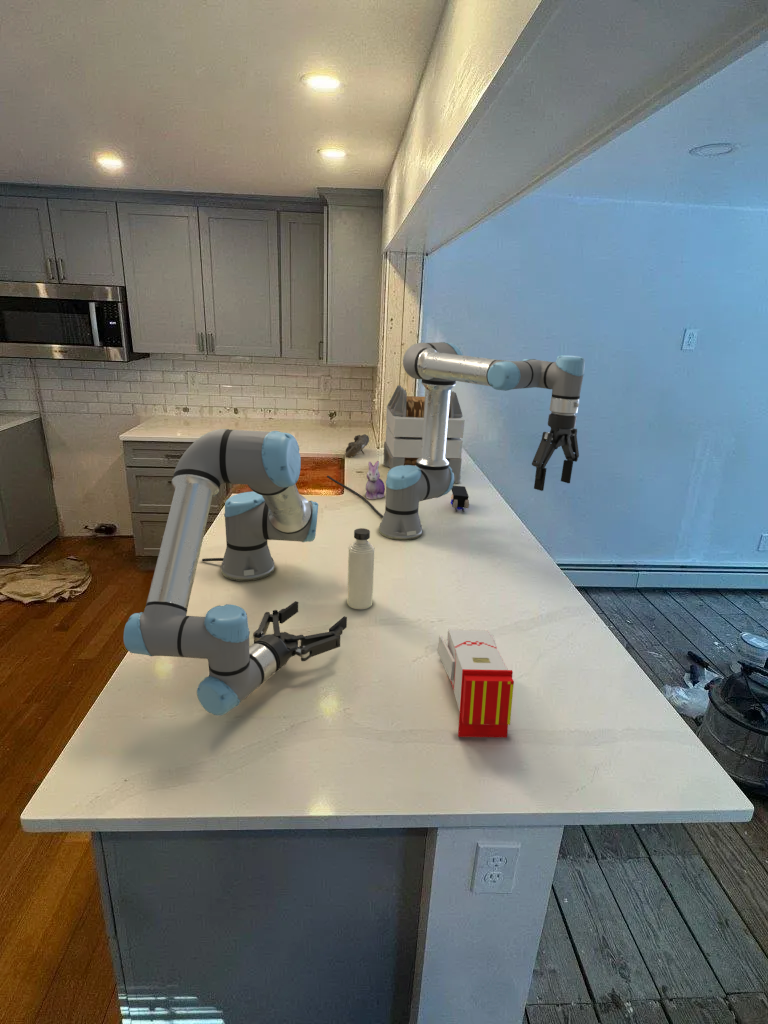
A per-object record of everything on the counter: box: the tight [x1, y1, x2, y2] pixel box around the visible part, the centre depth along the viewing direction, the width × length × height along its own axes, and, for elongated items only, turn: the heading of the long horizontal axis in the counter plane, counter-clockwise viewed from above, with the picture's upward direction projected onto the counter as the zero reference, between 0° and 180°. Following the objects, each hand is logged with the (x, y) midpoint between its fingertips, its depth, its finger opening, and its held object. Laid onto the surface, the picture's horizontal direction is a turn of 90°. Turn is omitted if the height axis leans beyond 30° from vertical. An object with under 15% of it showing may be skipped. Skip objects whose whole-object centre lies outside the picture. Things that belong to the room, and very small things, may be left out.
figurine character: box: [450, 485, 470, 513], centre depth 227 cm, size 7×8×15 cm
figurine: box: [364, 460, 386, 500], centre depth 235 cm, size 9×10×15 cm
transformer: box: [383, 384, 465, 484], centre depth 268 cm, size 34×33×41 cm
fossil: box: [344, 433, 370, 458], centre depth 304 cm, size 22×10×15 cm
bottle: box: [346, 539, 375, 610], centre depth 149 cm, size 7×7×20 cm
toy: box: [437, 628, 515, 738], centre depth 117 cm, size 12×13×30 cm
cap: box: [353, 527, 371, 541], centre depth 145 cm, size 4×4×2 cm
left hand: (320, 613), depth 134 cm, fingers open, 13 cm apart
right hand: (552, 485), depth 166 cm, fingers open, 13 cm apart
